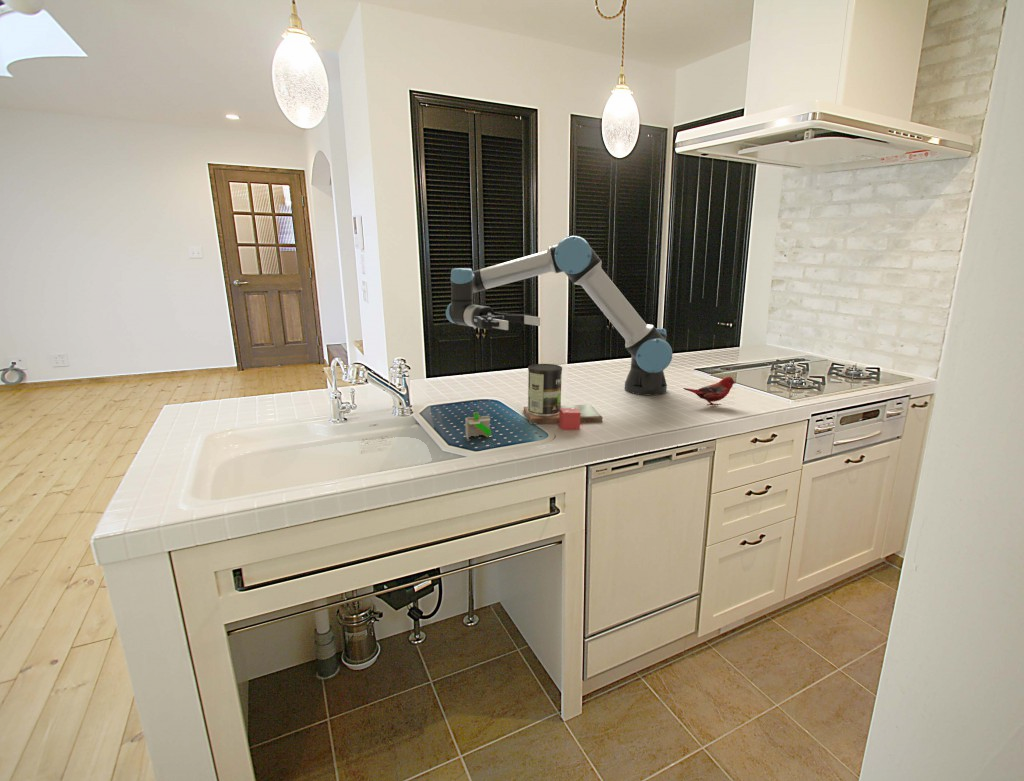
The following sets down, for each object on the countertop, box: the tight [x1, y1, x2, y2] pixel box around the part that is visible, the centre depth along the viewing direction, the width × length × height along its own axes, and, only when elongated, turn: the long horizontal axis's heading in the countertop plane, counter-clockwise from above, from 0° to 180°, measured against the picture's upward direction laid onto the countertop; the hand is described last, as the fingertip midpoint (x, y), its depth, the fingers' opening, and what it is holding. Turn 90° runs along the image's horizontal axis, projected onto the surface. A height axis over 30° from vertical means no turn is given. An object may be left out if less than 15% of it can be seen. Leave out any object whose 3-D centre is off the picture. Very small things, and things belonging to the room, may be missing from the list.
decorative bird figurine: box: [682, 376, 737, 406], centre depth 174 cm, size 3×18×10 cm, turn 93°
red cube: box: [558, 408, 581, 431], centre depth 153 cm, size 5×5×5 cm
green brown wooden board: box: [523, 404, 603, 425], centre depth 163 cm, size 22×13×2 cm, turn 98°
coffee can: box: [527, 363, 563, 416], centre depth 160 cm, size 10×10×14 cm
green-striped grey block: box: [464, 411, 491, 440], centre depth 143 cm, size 4×7×8 cm, turn 109°
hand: (523, 323), depth 162 cm, fingers open, 13 cm apart
